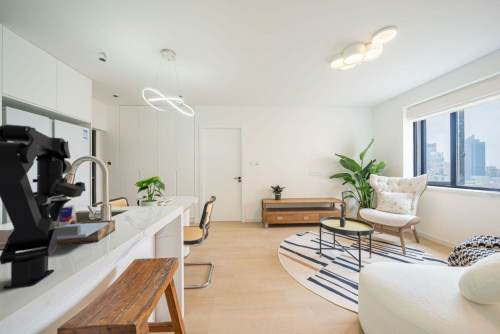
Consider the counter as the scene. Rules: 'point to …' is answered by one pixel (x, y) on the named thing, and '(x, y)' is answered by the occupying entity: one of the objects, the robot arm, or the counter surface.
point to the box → (92, 237)
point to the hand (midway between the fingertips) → (50, 222)
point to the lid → (78, 230)
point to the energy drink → (67, 215)
